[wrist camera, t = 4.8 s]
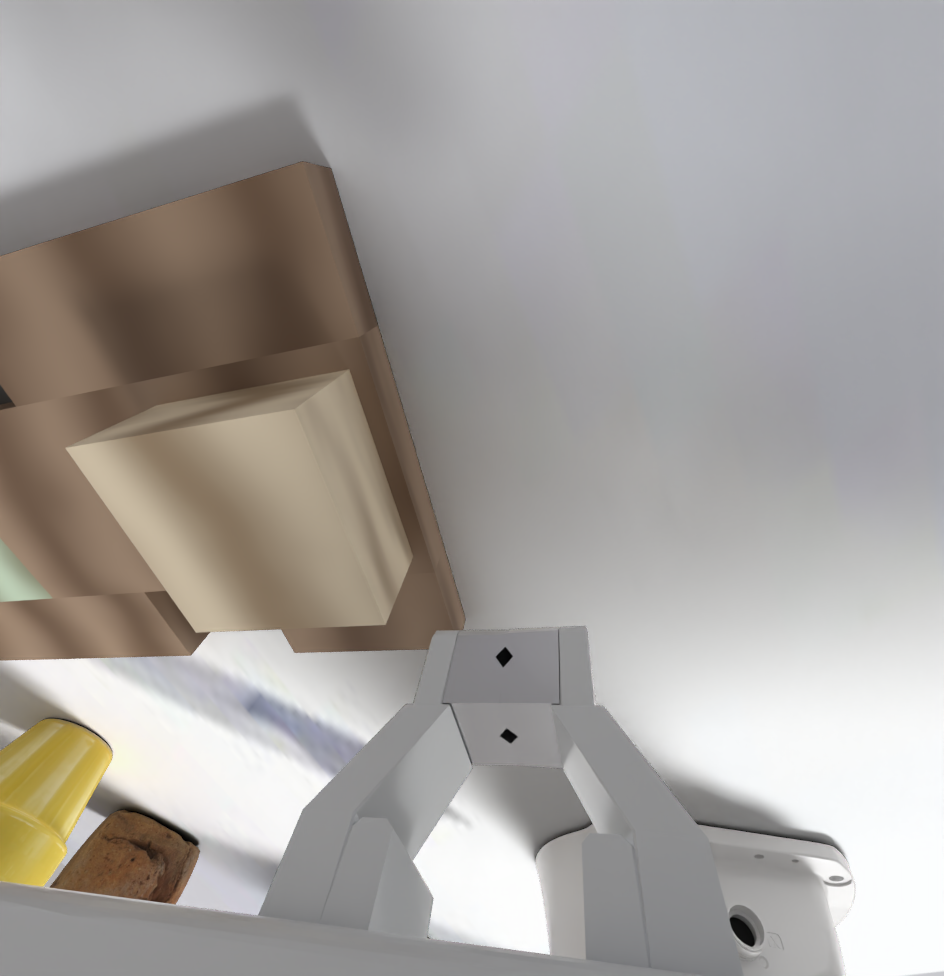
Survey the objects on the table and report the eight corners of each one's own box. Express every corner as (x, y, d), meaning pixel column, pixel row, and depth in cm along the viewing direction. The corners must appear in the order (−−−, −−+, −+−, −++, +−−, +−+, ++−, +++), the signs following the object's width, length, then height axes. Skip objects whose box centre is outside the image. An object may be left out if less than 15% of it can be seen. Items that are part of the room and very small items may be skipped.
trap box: (331, 168, 15) (241, 145, 10) (465, 618, 24) (447, 702, 20) (-275, 352, 22) (-467, 382, 18) (9, 637, 32) (-73, 701, 28)
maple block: (349, 369, 16) (294, 409, 13) (413, 556, 20) (385, 624, 17) (157, 405, 18) (65, 447, 14) (250, 569, 22) (196, 632, 19)
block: (100, 816, 48) (-150, 1147, 31) (119, 796, 44) (-151, 1157, 27) (191, 859, 50) (8, 1186, 33) (217, 843, 47) (26, 1200, 30)
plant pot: (104, 783, 43) (-2, 918, 35) (1, 723, 40) (-144, 857, 31) (156, 758, 39) (47, 905, 30) (45, 689, 35) (-111, 833, 27)
